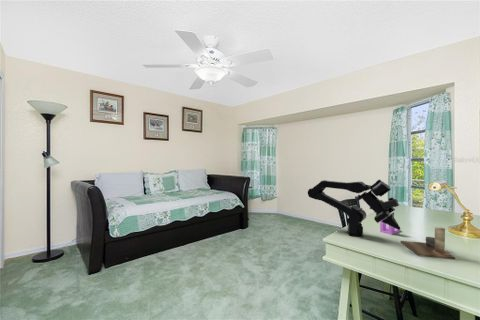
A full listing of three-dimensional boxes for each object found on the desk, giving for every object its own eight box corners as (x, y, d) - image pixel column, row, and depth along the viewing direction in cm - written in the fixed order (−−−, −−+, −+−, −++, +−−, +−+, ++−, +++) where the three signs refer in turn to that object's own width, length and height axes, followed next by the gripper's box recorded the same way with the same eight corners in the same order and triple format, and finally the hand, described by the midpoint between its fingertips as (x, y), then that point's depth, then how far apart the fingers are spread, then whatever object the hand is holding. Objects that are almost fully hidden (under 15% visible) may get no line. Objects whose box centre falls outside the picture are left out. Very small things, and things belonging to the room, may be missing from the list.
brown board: (418, 255, 91) (418, 253, 91) (400, 242, 105) (400, 240, 105) (455, 259, 88) (455, 256, 88) (432, 245, 102) (432, 243, 102)
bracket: (391, 235, 116) (391, 222, 116) (380, 232, 121) (380, 219, 121) (401, 230, 123) (401, 218, 123) (390, 228, 128) (390, 216, 128)
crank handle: (424, 243, 101) (424, 222, 101) (433, 244, 100) (434, 222, 100) (436, 252, 91) (436, 228, 91) (446, 253, 90) (447, 229, 90)
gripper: (383, 194, 99) (413, 224, 91) (390, 190, 112) (417, 216, 105) (363, 208, 104) (390, 237, 97) (372, 203, 118) (397, 228, 110)
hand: (399, 229), depth 102 cm, fingers closed
